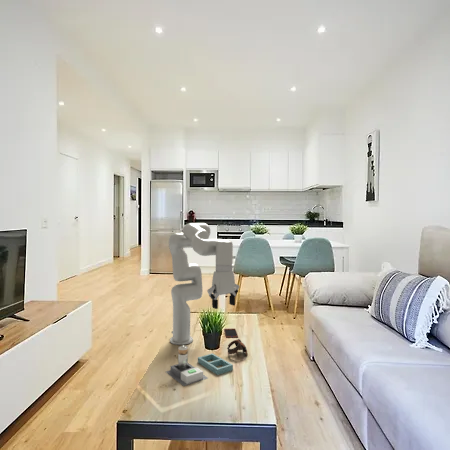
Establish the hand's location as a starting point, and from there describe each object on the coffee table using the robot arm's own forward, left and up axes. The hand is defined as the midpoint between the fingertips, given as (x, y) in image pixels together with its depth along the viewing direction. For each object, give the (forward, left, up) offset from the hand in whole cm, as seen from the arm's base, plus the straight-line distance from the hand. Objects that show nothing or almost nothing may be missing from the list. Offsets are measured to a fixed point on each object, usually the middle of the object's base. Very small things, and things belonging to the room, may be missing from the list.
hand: (223, 306), depth 156 cm
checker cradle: (-5, -16, -29) cm, 34 cm away
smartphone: (-38, +34, -30) cm, 59 cm away
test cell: (-8, -16, -28) cm, 33 cm away
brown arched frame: (-11, +18, -30) cm, 36 cm away
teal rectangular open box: (-5, -1, -29) cm, 30 cm away
